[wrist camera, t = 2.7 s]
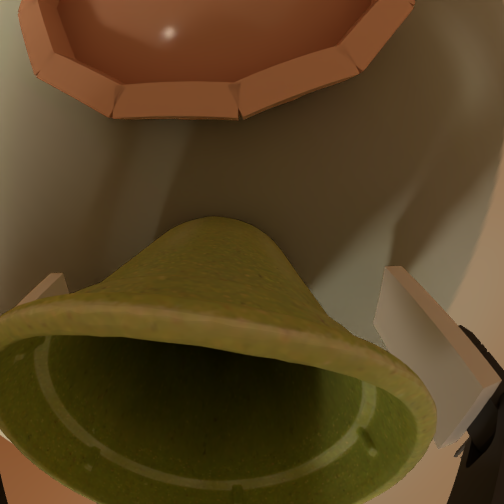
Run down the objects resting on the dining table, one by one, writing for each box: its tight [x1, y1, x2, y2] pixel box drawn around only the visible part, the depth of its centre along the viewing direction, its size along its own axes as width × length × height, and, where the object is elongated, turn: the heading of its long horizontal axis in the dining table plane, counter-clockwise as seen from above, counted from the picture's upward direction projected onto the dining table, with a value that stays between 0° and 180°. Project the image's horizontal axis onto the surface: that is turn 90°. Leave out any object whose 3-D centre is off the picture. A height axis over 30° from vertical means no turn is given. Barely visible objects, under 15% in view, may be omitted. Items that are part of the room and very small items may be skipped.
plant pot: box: [0, 216, 437, 504], centre depth 8 cm, size 9×9×9 cm
